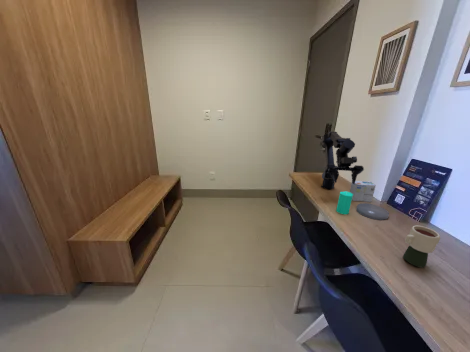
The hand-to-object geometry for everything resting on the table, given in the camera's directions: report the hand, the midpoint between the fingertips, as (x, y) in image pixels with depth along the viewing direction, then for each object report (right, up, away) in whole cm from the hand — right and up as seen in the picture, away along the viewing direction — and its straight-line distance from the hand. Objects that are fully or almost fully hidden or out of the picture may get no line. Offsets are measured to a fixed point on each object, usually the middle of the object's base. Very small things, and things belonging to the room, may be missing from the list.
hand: (344, 183), depth 109 cm
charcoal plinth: (+12, -15, -4) cm, 20 cm away
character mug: (+4, -27, -37) cm, 46 cm away
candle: (-3, -15, -3) cm, 16 cm away
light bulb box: (+15, -10, +12) cm, 22 cm away
